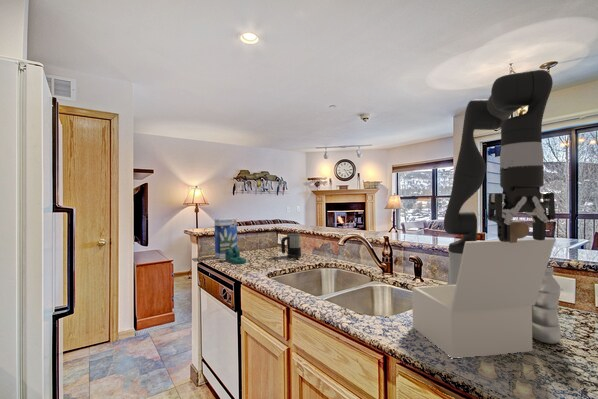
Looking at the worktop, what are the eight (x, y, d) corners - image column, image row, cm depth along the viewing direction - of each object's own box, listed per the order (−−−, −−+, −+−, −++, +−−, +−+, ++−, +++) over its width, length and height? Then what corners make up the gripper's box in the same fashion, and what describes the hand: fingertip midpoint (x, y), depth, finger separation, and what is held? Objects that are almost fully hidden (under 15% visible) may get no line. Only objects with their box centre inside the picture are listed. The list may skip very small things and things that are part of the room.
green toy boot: (225, 260, 190) (225, 248, 190) (235, 258, 194) (234, 246, 194) (238, 265, 175) (237, 251, 175) (248, 263, 180) (247, 250, 179)
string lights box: (219, 259, 193) (218, 219, 193) (214, 257, 199) (213, 219, 199) (237, 256, 202) (237, 218, 201) (232, 254, 207) (231, 217, 207)
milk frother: (295, 254, 205) (295, 232, 205) (310, 257, 192) (310, 235, 192) (279, 257, 196) (278, 234, 196) (293, 261, 184) (293, 237, 183)
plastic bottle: (545, 334, 83) (544, 263, 82) (568, 346, 76) (567, 269, 76) (523, 335, 82) (522, 263, 82) (543, 347, 76) (543, 269, 76)
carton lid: (467, 218, 65) (480, 225, 61) (555, 216, 68) (573, 222, 64) (448, 307, 72) (459, 318, 68) (529, 301, 75) (544, 311, 71)
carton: (412, 327, 89) (412, 287, 89) (478, 321, 92) (478, 283, 92) (451, 359, 71) (451, 309, 71) (532, 351, 74) (531, 303, 74)
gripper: (533, 167, 69) (534, 237, 69) (478, 167, 67) (479, 239, 67) (567, 163, 61) (568, 242, 61) (506, 163, 59) (506, 244, 59)
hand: (521, 240), depth 64 cm, fingers open, 8 cm apart
